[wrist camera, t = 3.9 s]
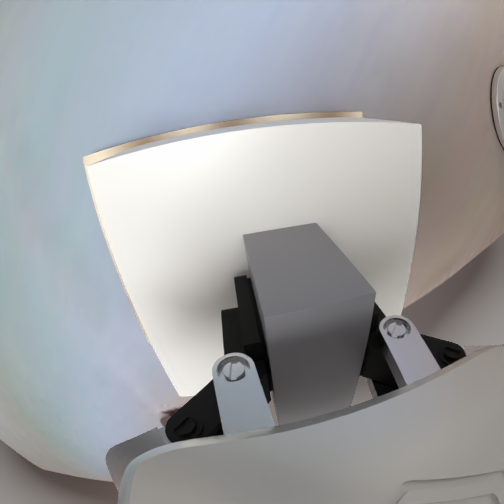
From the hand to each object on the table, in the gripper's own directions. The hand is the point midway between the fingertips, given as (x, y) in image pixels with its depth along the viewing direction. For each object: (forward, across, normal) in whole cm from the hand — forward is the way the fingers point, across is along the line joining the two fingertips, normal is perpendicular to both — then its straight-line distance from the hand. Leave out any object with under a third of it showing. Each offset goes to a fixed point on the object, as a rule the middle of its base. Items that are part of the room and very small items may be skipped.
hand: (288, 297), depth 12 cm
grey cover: (+9, 0, 0) cm, 9 cm away
